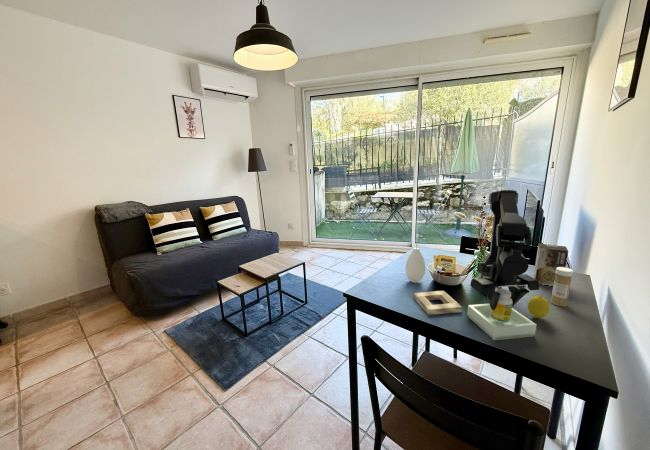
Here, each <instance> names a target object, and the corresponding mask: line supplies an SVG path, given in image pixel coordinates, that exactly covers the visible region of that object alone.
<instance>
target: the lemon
mask: <svg viewBox="0 0 650 450" xmlns="http://www.w3.org/2000/svg"><path fill="white" fill-rule="evenodd" d="M527 310H528V312H529V314H530V315H532V316H533V317H534V318H535V319H539V318H540V319H541V318H542V319H543V318H545V317H547V315H548V314H549V312H550V304H549V302H548V300H547V299H546V298H545V297H542V296H541V295H535V296H533V297H531V298H530V299H529V301H528V304H527Z"/></svg>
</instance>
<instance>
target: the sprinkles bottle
mask: <svg viewBox="0 0 650 450" xmlns="http://www.w3.org/2000/svg"><path fill="white" fill-rule="evenodd" d="M573 274H574V270H573V269H571V268H569V267H557V268H556V276H555V280H554V286H553V287H552V290H551V292H552V293H551V299H550V303H551V304H552V305H554V306H557V307H566V306H567V305H568V304H567V302H568V298H569V293H570V286H571V281H572V277H573V276H574V275H573Z"/></svg>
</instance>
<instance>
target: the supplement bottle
mask: <svg viewBox="0 0 650 450" xmlns="http://www.w3.org/2000/svg"><path fill="white" fill-rule="evenodd" d="M497 292H498V293H500V294H501V295H500V297H499V300H498V303H497V305H496V308H495V310H492V309H491V313H490V317H491V318H492V319H493V320H494V321H496V322H499V323H508V322H509V321H510V316H511V310H512V308H513V307H512V303H513V301H512V299H511V298H510V297H511V292H510V291H509V289H505V288H502V289H498V290H497Z"/></svg>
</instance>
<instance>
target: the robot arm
mask: <svg viewBox="0 0 650 450" xmlns="http://www.w3.org/2000/svg"><path fill="white" fill-rule="evenodd" d="M518 203H519V193H518V192H517V190H515V189H505V188H503V189H502V188H501V189H498V190H497V191H492V192H490V193H489V195H488V205H489V209H490V211H491V214H492V215H493V219H492V226H491V227H492V228H491V229H492V230H491V238H490V247H489V253H488V254H487V255H486V256H485V258H484V260H483V262H479V263H478V262H477V267H476V269H477V273H479V277H473V278H472V279H471V280H470V287H472V288H473V289H474V290H475V291H477V292H478V293H480V294H482V295H485V296H486V297H487V300H488V304H490V307H491V309H492V310H495V308H496V305H497V303H498V300H499V297H500V295H501V294H500V293H498V292H497V290H498V289H503V288H505V287H507V289H508V290H509V291H510V292H511V297H510V298H511V299H512V301H513V303H512V308H514V306H515V305H516V304H517V303H518V302H519V301H520V300H521V299H522V298H523V297H524V296H526V294H529V293H530V291H539V290H540V286H541V285H540V283H539V282H538V280H536V279H534V278H533V276H531V275H529V274H526V272H527V271H528V269H529V263H528V261H527V258H526V257H525V256H524V253H523V252H524V250H530V249H531V246H532V244H533V240H532V231H531V229H530V226H529V225H528V223H527V220H526V219H525V218H524V217H523V216H521V215H520V213H519V209H518ZM527 288H528V289H527Z"/></svg>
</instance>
